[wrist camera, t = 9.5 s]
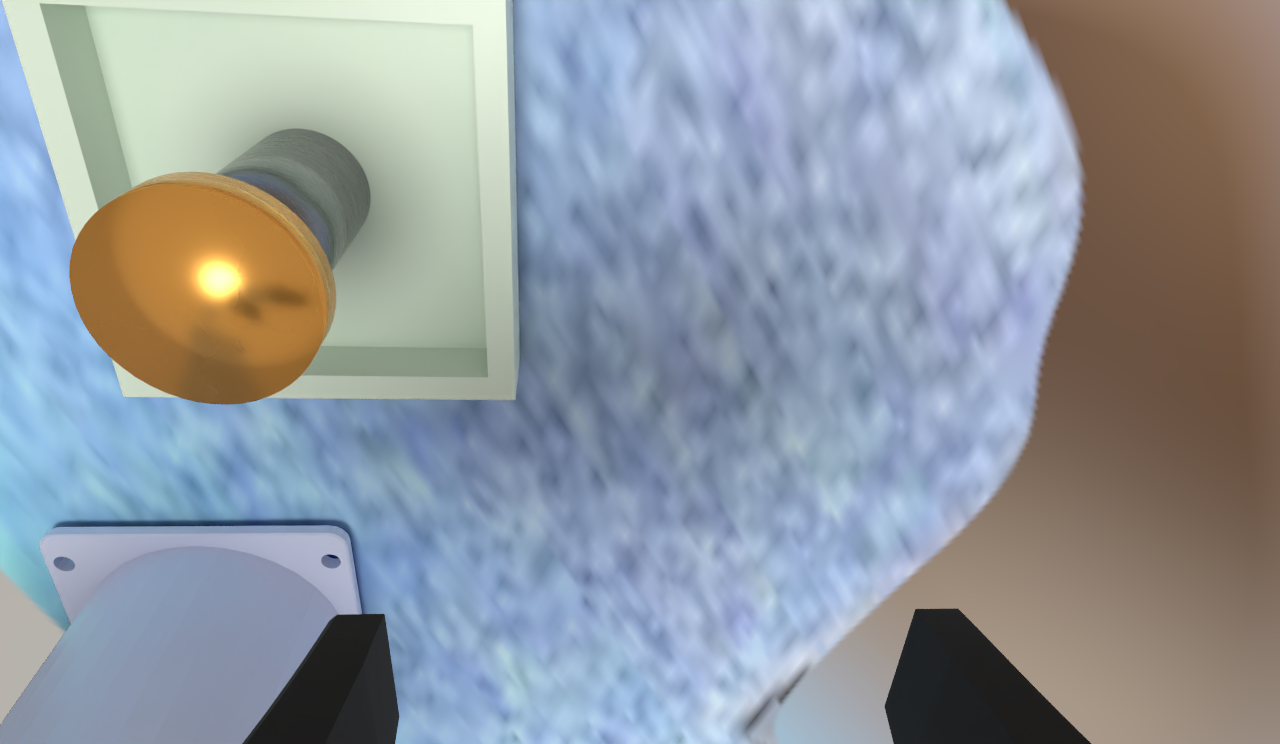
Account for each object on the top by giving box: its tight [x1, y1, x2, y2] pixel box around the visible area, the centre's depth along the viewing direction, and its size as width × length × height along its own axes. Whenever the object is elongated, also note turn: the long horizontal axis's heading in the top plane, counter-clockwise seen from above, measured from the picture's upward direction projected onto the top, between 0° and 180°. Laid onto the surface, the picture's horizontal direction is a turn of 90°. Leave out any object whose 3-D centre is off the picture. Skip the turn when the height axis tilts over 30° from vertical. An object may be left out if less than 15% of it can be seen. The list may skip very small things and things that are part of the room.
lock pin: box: [70, 129, 371, 404], centre depth 15 cm, size 4×4×6 cm
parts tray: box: [2, 0, 520, 400], centre depth 17 cm, size 9×9×2 cm
